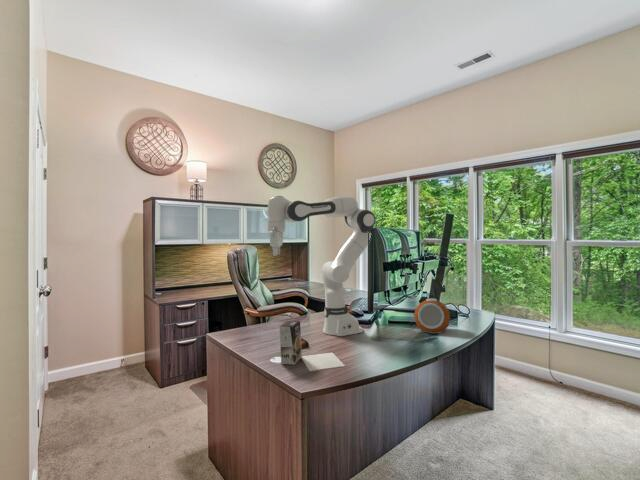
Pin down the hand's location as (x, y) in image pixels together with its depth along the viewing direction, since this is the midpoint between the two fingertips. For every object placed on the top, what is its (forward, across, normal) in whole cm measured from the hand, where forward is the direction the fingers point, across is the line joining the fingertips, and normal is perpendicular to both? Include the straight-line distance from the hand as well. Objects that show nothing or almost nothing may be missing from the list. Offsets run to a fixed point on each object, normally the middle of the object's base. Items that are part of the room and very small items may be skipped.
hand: (276, 255), depth 167 cm
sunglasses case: (+45, -3, -9) cm, 46 cm away
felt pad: (+44, -27, -23) cm, 57 cm away
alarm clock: (+43, +18, -85) cm, 97 cm away
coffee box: (+44, -26, -10) cm, 52 cm away
